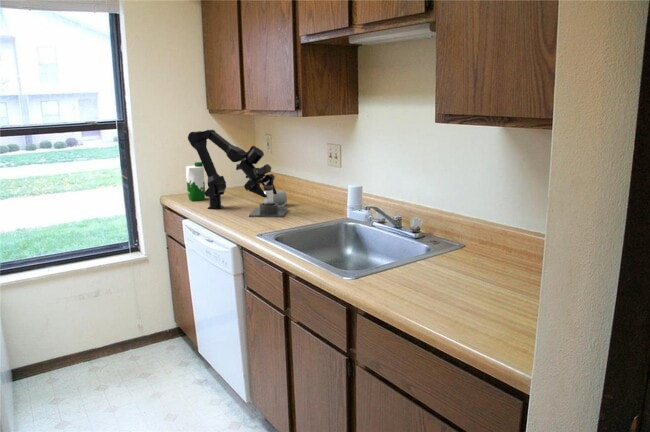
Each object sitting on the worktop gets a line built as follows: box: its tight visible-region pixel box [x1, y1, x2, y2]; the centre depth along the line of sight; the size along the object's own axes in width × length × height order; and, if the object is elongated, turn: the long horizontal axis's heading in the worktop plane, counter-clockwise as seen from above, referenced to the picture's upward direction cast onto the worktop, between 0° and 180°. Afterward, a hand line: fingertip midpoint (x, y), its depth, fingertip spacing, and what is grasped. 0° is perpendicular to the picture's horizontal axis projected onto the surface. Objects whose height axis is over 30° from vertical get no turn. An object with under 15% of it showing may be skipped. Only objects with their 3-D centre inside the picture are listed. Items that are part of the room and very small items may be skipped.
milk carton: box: [185, 161, 206, 202], centre depth 276 cm, size 9×9×20 cm
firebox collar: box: [248, 202, 289, 218], centre depth 243 cm, size 16×16×4 cm
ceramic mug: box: [273, 189, 288, 208], centre depth 259 cm, size 11×8×8 cm
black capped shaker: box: [262, 185, 273, 206], centre depth 242 cm, size 4×4×12 cm
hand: (271, 195), depth 241 cm, fingers open, 9 cm apart
